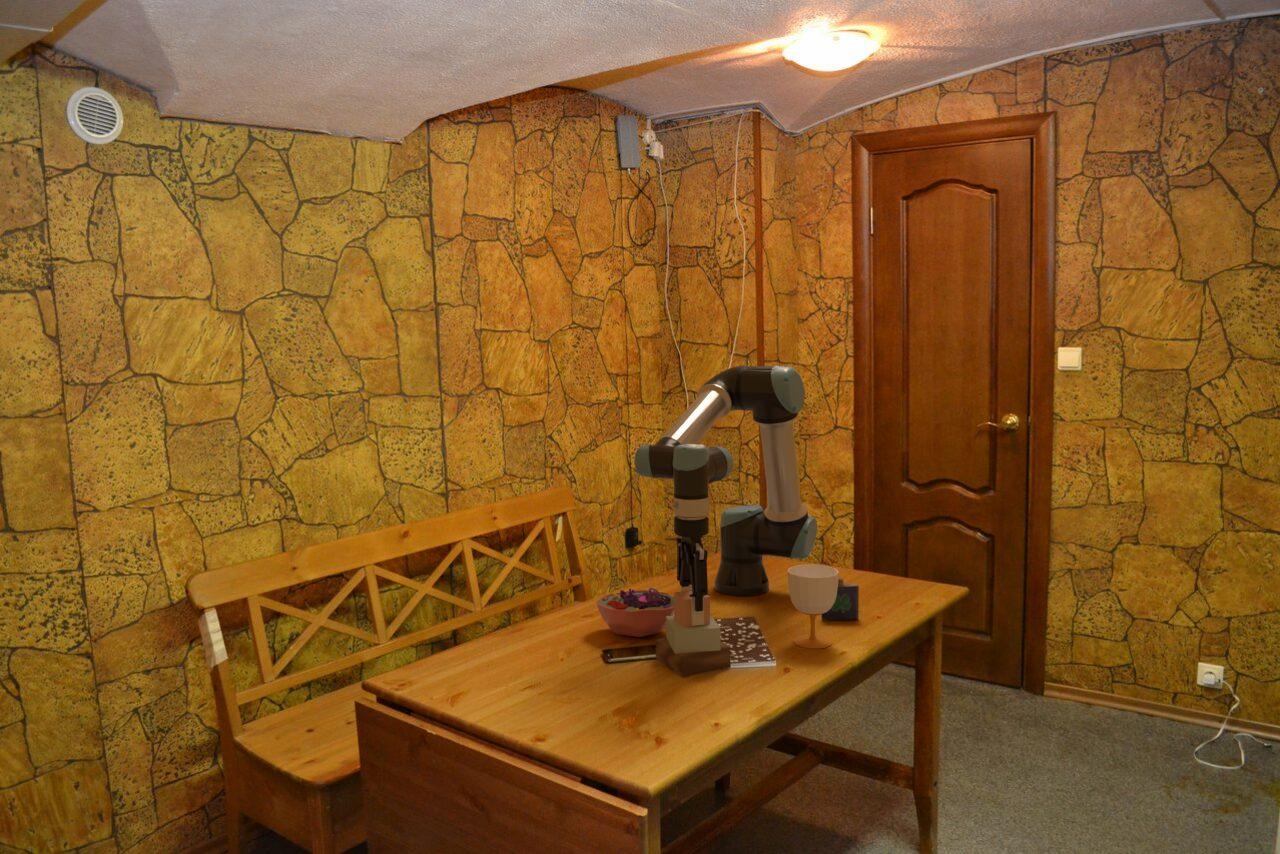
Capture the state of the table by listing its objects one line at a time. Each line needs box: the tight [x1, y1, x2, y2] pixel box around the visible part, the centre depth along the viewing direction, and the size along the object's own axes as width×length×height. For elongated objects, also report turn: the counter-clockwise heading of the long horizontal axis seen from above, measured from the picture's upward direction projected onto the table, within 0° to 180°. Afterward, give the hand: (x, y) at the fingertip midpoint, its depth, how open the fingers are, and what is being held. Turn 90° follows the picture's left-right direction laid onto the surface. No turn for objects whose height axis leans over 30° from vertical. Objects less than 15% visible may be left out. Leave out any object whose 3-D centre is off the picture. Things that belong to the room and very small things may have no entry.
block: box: [673, 590, 711, 627], centre depth 203 cm, size 6×6×6 cm
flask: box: [821, 576, 860, 622], centre depth 232 cm, size 9×3×11 cm, turn 88°
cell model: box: [595, 587, 674, 638], centre depth 224 cm, size 17×20×11 cm
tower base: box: [655, 637, 731, 679], centre depth 204 cm, size 12×12×5 cm
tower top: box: [665, 614, 722, 654], centre depth 203 cm, size 10×10×5 cm
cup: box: [787, 563, 840, 650], centre depth 216 cm, size 12×12×17 cm
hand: (692, 619), depth 203 cm, fingers closed on block, 6 cm apart
